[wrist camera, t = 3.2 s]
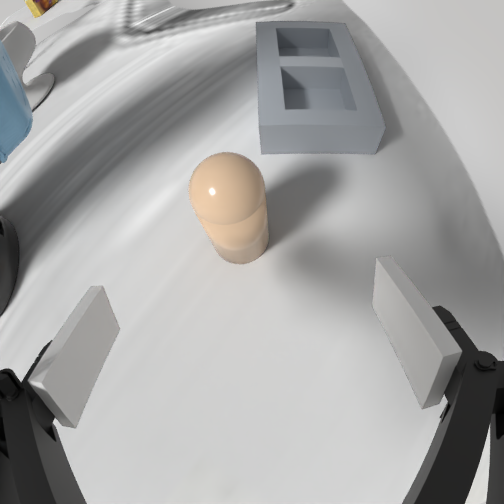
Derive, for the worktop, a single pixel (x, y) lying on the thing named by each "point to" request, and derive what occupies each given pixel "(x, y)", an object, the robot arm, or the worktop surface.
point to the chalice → (25, 60)
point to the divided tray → (314, 91)
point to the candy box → (39, 6)
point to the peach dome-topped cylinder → (231, 206)
